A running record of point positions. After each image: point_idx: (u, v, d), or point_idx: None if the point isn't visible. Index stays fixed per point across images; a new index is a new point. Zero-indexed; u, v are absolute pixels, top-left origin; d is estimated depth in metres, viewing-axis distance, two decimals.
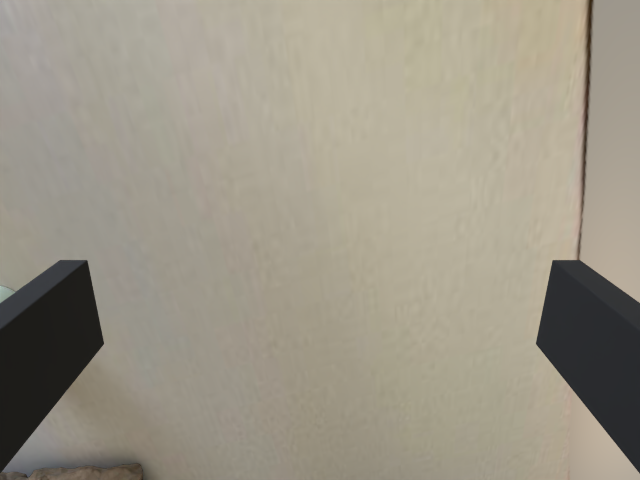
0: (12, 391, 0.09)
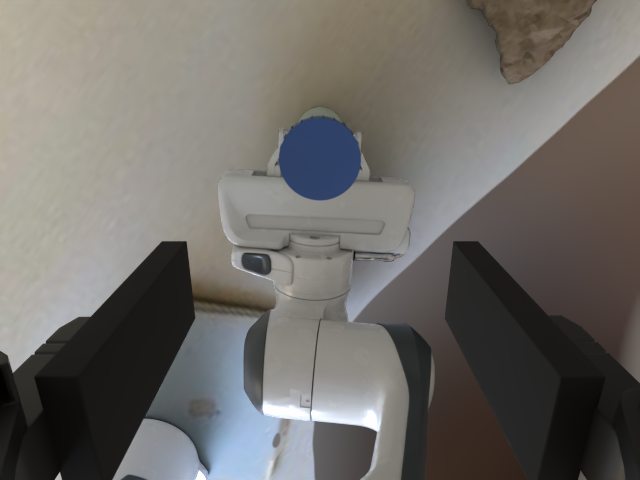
0: (149, 350, 0.11)
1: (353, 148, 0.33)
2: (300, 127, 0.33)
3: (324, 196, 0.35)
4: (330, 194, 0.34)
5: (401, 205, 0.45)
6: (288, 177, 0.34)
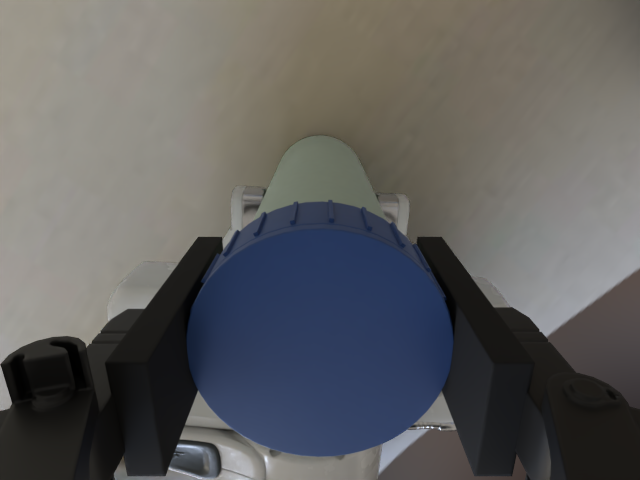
0: None
1: (431, 320, 0.10)
2: (252, 257, 0.09)
3: (333, 446, 0.11)
4: (352, 442, 0.11)
5: None
6: (220, 399, 0.11)
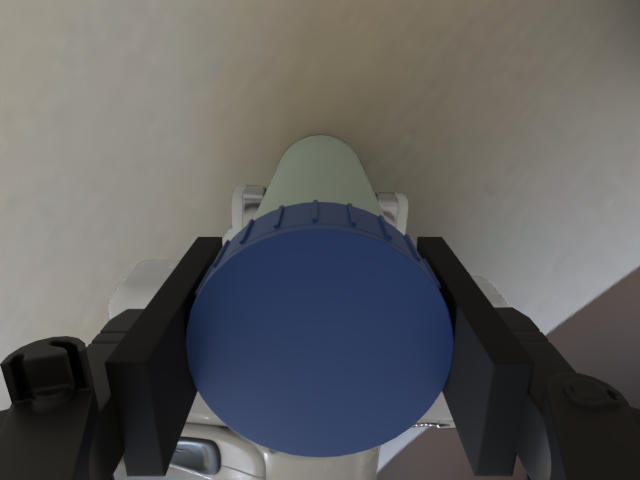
0: None
1: (320, 248, 0.09)
2: (200, 372, 0.10)
3: (434, 378, 0.11)
4: (436, 361, 0.10)
5: None
6: (333, 445, 0.11)
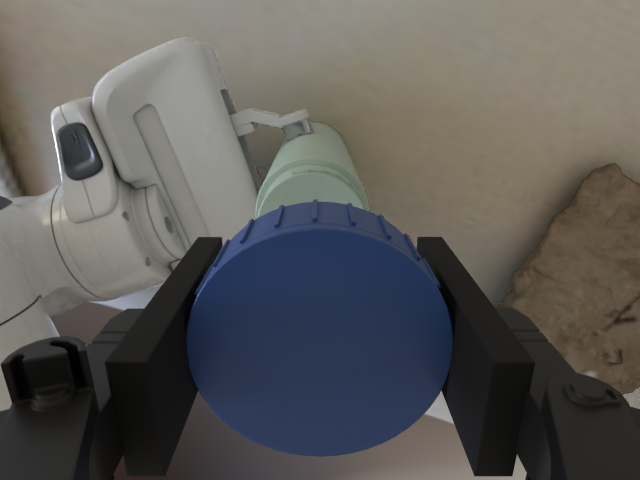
0: None
1: (320, 248, 0.09)
2: (200, 371, 0.10)
3: (433, 377, 0.11)
4: (436, 360, 0.10)
5: None
6: (332, 444, 0.11)
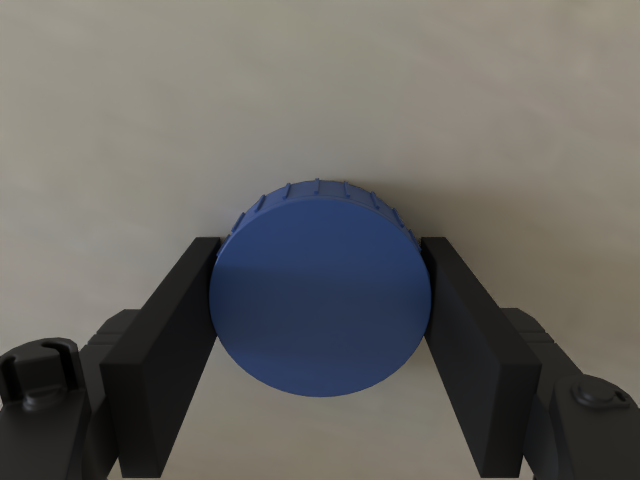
0: (192, 341, 0.11)
1: (320, 215, 0.11)
2: (220, 320, 0.13)
3: (415, 327, 0.13)
4: (417, 312, 0.12)
5: None
6: (331, 386, 0.13)
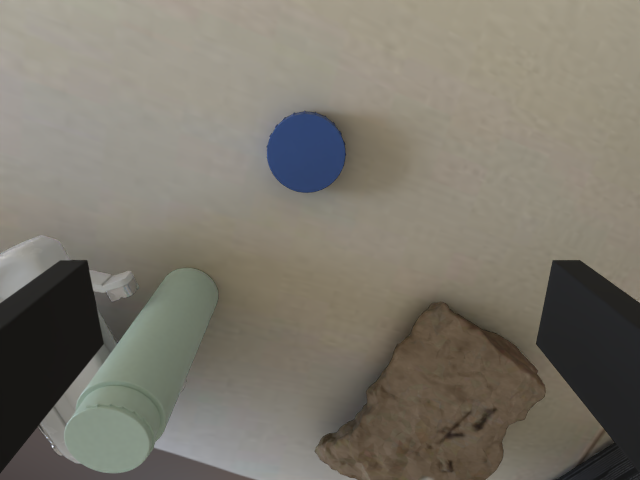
0: (13, 391, 0.09)
1: (306, 119, 0.34)
2: (271, 160, 0.35)
3: (340, 162, 0.36)
4: (340, 156, 0.35)
5: None
6: (310, 187, 0.36)
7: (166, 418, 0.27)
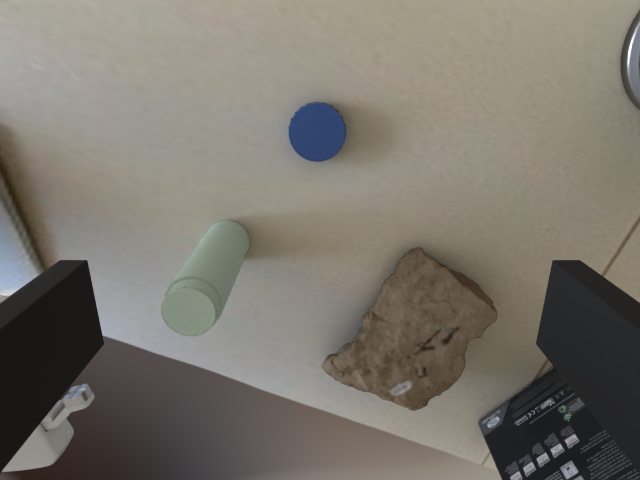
0: (12, 391, 0.09)
1: (317, 107, 0.48)
2: (291, 137, 0.49)
3: (341, 139, 0.49)
4: (342, 134, 0.49)
5: (31, 460, 0.41)
6: (320, 157, 0.50)
7: (224, 304, 0.41)
